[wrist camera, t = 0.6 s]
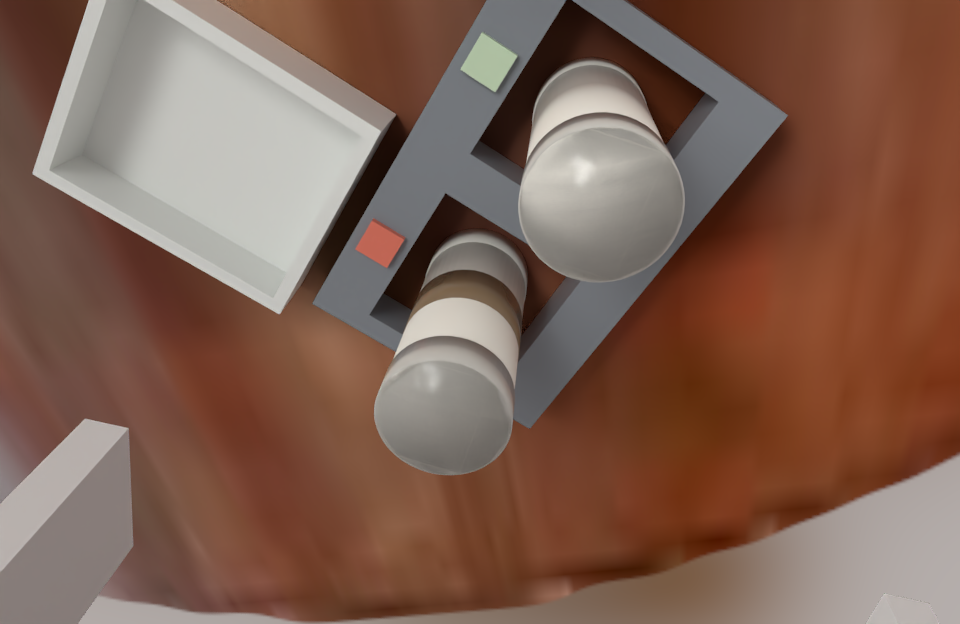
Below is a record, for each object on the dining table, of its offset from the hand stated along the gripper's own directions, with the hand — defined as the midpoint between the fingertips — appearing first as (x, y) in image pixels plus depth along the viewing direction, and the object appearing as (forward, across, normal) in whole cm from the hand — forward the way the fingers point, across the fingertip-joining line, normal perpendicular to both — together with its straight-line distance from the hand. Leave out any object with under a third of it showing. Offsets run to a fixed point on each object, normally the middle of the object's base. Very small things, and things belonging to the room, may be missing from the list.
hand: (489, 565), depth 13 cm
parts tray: (+23, -14, -1) cm, 27 cm away
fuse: (+23, +2, +3) cm, 23 cm away
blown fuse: (+23, -2, -5) cm, 24 cm away
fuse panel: (+23, 0, -1) cm, 23 cm away
